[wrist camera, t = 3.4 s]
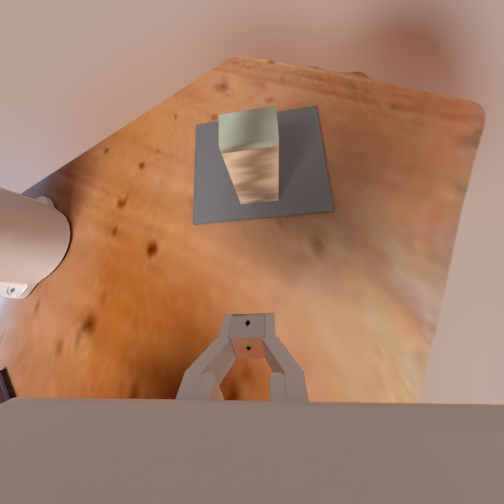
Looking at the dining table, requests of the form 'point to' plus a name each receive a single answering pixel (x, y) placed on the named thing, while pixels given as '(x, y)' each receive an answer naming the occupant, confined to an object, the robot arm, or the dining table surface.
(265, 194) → the birch block
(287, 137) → the rubber mat
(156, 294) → the dining table surface
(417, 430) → the robot arm
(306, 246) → the dining table surface
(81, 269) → the dining table surface
